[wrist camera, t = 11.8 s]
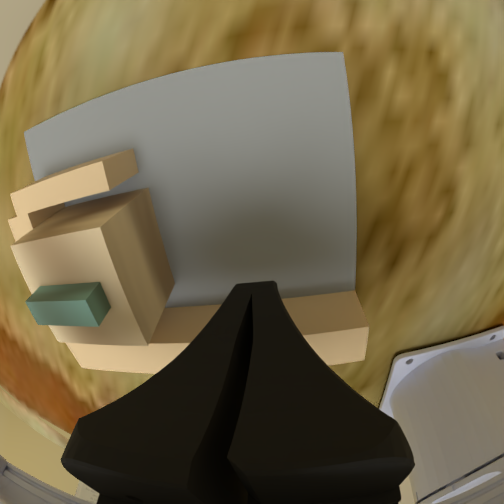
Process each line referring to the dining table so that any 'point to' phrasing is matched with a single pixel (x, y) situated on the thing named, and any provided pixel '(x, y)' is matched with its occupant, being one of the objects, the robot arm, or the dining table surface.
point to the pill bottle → (406, 492)
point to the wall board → (221, 193)
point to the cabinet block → (98, 271)
